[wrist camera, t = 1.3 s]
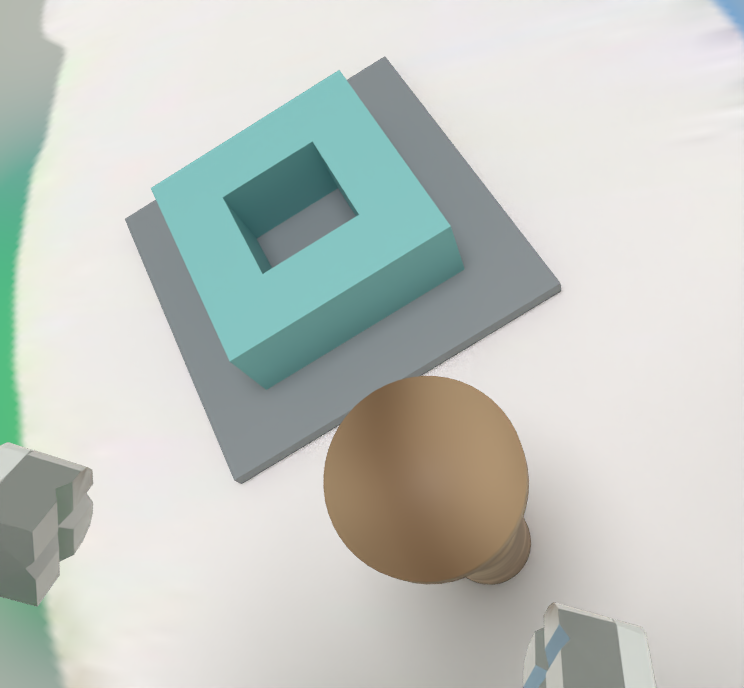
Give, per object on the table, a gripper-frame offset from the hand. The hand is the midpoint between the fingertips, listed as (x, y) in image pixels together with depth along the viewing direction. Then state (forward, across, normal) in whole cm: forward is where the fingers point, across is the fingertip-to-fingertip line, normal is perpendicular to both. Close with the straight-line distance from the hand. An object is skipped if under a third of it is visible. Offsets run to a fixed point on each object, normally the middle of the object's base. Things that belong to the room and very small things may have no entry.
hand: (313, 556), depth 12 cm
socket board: (+34, +6, +11) cm, 36 cm away
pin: (+19, -8, +17) cm, 27 cm away
